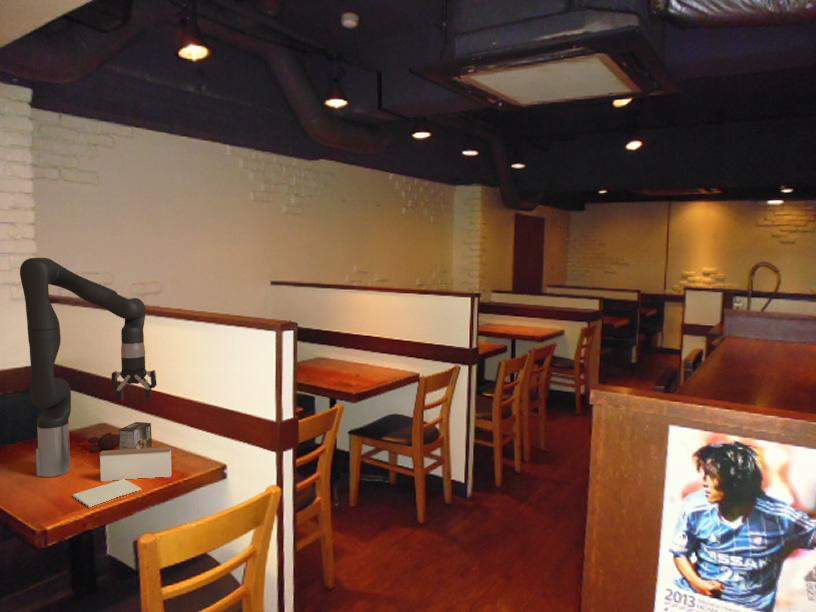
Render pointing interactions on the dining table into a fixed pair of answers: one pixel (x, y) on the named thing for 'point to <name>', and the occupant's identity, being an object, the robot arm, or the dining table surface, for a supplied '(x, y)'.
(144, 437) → the coffee box
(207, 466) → the dining table surface
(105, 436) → the icecream
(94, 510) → the dining table surface
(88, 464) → the dining table surface
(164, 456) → the flat box
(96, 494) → the mat
